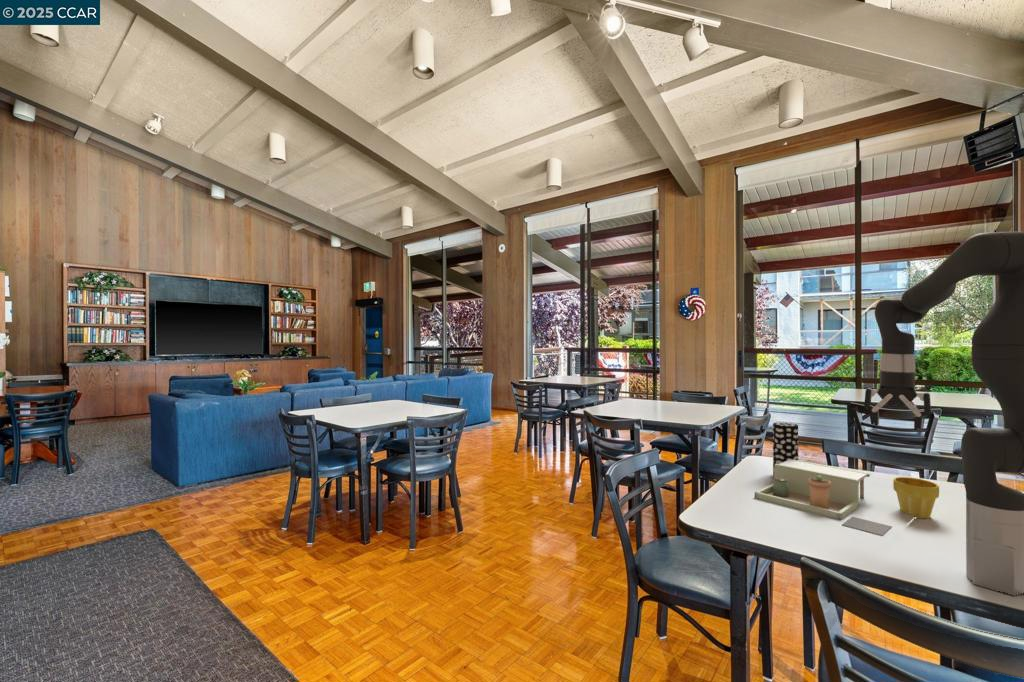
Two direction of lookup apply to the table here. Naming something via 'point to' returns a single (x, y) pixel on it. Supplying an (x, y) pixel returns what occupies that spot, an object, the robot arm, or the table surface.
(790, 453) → the white-spotted black cylinder
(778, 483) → the green plastic pot
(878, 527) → the slate tile
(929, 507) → the plant pot
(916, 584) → the table surface
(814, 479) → the terracotta pot
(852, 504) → the tray with back shelf
